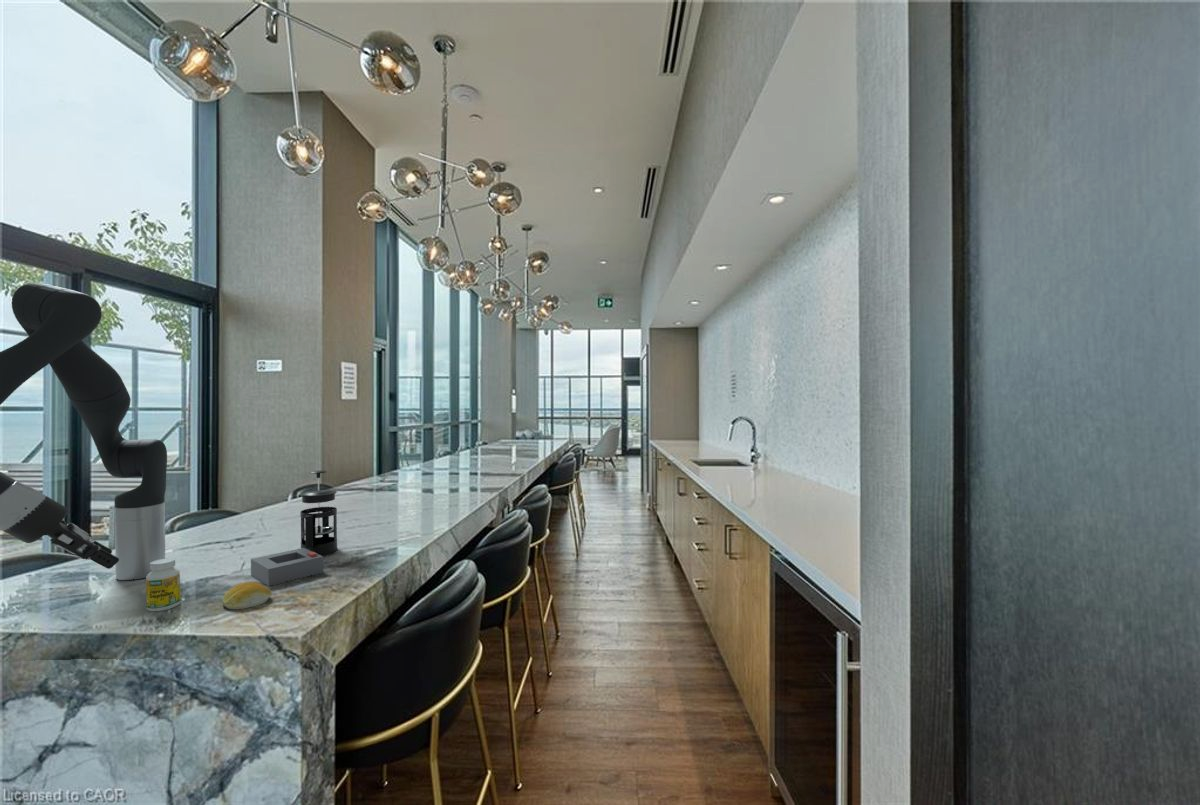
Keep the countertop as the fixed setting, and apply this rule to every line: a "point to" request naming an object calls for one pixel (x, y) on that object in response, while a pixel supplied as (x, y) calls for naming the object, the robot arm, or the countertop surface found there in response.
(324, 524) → the french press
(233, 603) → the bread roll
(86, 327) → the robot arm
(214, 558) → the countertop surface
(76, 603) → the countertop surface
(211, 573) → the countertop surface
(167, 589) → the supplement bottle
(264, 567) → the socket block
